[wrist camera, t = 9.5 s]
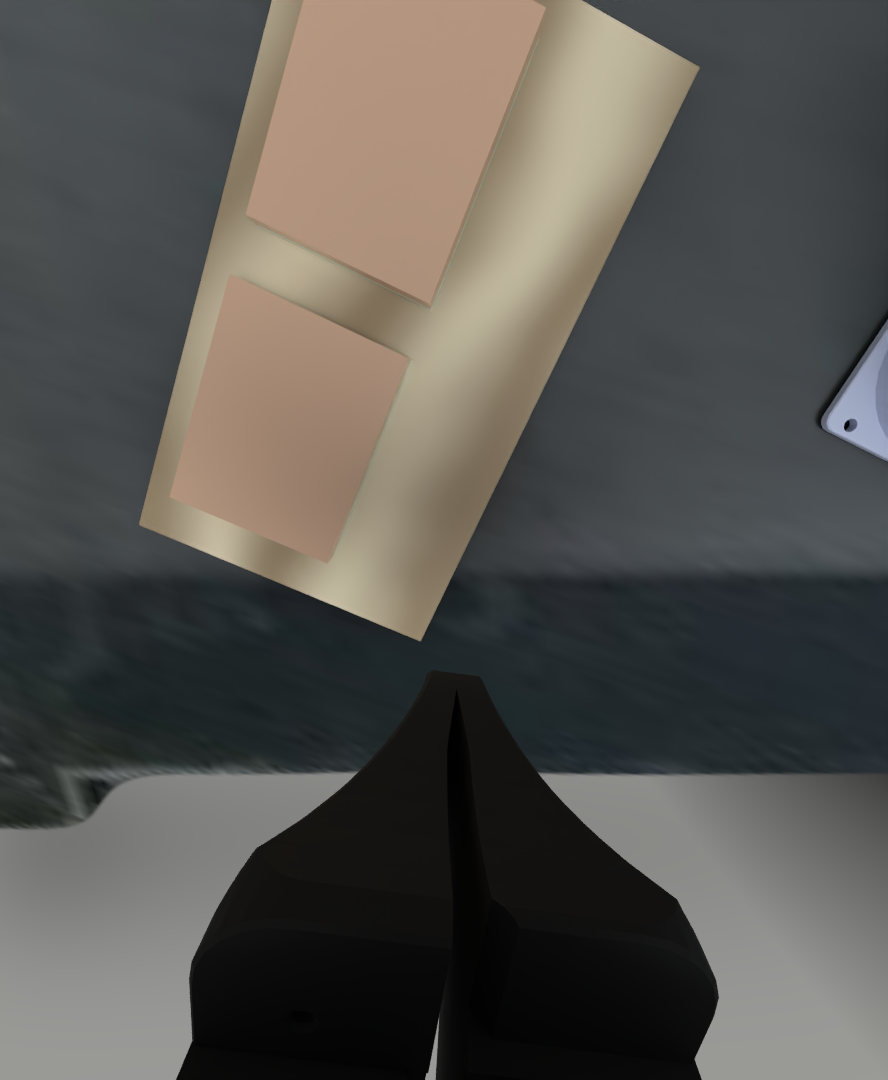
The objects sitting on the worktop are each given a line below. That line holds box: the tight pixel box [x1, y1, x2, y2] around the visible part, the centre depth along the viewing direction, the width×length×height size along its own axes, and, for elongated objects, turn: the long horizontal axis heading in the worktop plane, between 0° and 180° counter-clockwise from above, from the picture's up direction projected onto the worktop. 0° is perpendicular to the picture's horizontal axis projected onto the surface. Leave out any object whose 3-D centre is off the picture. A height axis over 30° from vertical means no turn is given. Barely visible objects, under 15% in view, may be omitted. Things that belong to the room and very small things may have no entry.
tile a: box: [246, 0, 546, 311], centre depth 16 cm, size 1×9×7 cm
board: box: [139, 0, 700, 641], centre depth 19 cm, size 14×24×1 cm, turn 156°
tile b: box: [170, 274, 412, 563], centre depth 19 cm, size 1×9×7 cm
